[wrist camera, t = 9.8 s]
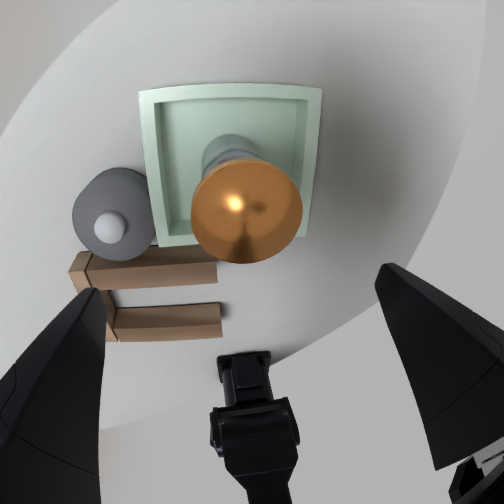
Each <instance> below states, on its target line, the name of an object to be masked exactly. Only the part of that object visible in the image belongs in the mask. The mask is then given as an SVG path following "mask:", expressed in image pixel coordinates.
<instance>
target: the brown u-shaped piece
mask: <svg viewBox="0 0 504 504" xmlns="http://www.w3.org/2000/svg"><path fill="white" fill-rule="evenodd" d="M68 273H69V275H70V278H71V280H72V282H73V284H74V286H75V288H76V290H77V292H78V294H79V293H80V292H81V291H82V290H83V289H84V288H87V287H96V288H98V289H99V291H100V293H101V296H102V298H103V300H104V302H105V305H106V307H107V323H106V340H105V342H118V339H119V341H120V342H146V341H175V340H193V339H207V338H220V337H223V335H222V325H221V315H220V305H219V303H214V304H201V305H187V306H171V307H152V308H129V309H118V310H117V311H116V309H115V307H114V304H113V302H112V300H111V297H110V295H109V293H108V290H115V289H134V288H151V287H167V286H182V285H196V284H209V283H218V280H217V267H216V257H214V256H212V255H211V254H209V253H208V252H207V251H205V250H204V249H203V248H202V247H201V245H200V244H195V245H183V246H170V247H159V246H151V247H148V248H147V249H146V250H145V251H144V252H143V253H142V254H140V255H139V256H137V257H135V258H132V259H129V260H124V261H114V260H108V259H105V258H102V257H100V256H97V255H96V254H93V253H92V252H83V253H78V254H77V256H76V258H75V260H74V261H73V263H72V265H71V267H70V269H69V271H68Z"/></svg>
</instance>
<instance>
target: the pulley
mask: <svg viewBox="0 0 504 504" xmlns="http://www.w3.org/2000/svg"><path fill="white" fill-rule="evenodd" d="M72 220H73V226H74V229H75V232H76V234H77V236H78V238H79V239H80V241H81V242H82V243H83V245H84V246H85V247H86V248H87V249H88V250H90V251H91V252H92V253H94V254H96V255H97V256H100V257H102V258H105V259H108V260H114V261H124V260H129V259H132V258H135V257H137V256H139V255H140V254H142V253H143V252H144V251H145V250H146V249H147V248H148V246H149V245H150V243H151V241H152V239H153V236H154V233H155V225H154V219H153V213H152V207H151V201H150V195H149V188H148V182H147V179H146V178H144V177H143V176H142V175H140V174H139V173H137V172H135V171H132V170H129V169H124V168H115V169H109V170H106V171H104V172H102V173H100V174H99V175H97V176H96V177H95V178H94V179H93V180H92V181H91V182H90V183H89V184H88V185H87V186H86V188H85V189H84V190H83V191H82V192H81V193H80V194H79V196H78V197H77V199H76V201H75V203H74V207H73V212H72Z"/></svg>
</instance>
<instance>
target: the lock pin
mask: <svg viewBox="0 0 504 504" xmlns="http://www.w3.org/2000/svg"><path fill="white" fill-rule="evenodd" d="M302 215H303V204H302V199H301V196H300V193H299V191H298V189H297V187H296V186H295V184H294V183H293V182H292V180H291V179H290V178H289V177H288V176H287V174H286V173H285V172H284V171H283V170H282V169H280V168H279V167H278V166H276V165H274V164H272V163H271V162H268V161H265V160H264V159H263V158H262V156H261V155H260V153H259V152H258V151H257V149H256V148H255V147H254V145H253V144H252V143H251V142H250V141H249V140H248V139H246V138H245V137H243V136H240V135H237V134H225V135H221V136H218V137H216V138H215V139H213V140H212V141H211V142H210V143H209V144H208V145H207V146H206V148H205V150H204V152H203V155H202V168H201V181H200V183H199V184H198V186H197V188H196V190H195V192H194V195H193V198H192V203H191V227H192V231H193V234H194V236H195V238H196V240H197V241H198V243H199V244H200V245H201V247H202V248H203V249H204V250H205V251H207V252H208V253H209V254H211V255H212V256H214V257H216V258H218V259H220V260H223V261H226V262H230V263H237V264H247V263H254V262H259V261H262V260H265V259H267V258H270V257H272V256H274V255H275V254H277V253H278V252H280V251H281V250H283V249H284V248H285V247H286V246H287V245H288V244H289V243H290V242H291V241H292V239H293V238H294V237H295V235H296V233H297V231H298V229H299V227H300V224H301V221H302Z"/></svg>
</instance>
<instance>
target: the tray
mask: <svg viewBox="0 0 504 504" xmlns="http://www.w3.org/2000/svg"><path fill="white" fill-rule="evenodd" d="M321 101H322V88H314V87H305V86H294V85H281V84H261V83H218V84H198V85H185V86H175V87H166V88H158V89H151V90H144V91H139V104H140V118H141V130H142V141H143V150H144V159H145V167H146V174H147V182H148V188H149V195H150V201H151V207H152V213H153V219H154V225H155V230H156V235H157V240H158V245H159V247H170V246H183V245H195V244H199V243H198V241H197V240H196V238H195V236H194V234H193V231H192V227H191V203H192V198H193V195H194V192H195V190H196V188H197V186H198V184H199V183H200V181H201V168H202V155H203V152H204V150H205V148H206V146H207V145H208V144H209V143H210V142H211V141H212V140H213V139H215V138H216V137H218V136H221V135H225V134H237V135H240V136H243V137H245V138H246V139H248V140H249V141H250V142H251V143H252V144H253V145H254V147H255V148H256V149H257V151H258V152H259V153H260V155H261V156H262V158H263V159H264V160H265V161H268V162H271V163H272V164H274V165H276V166H278V167H279V168H280V169H282V170H283V171H284V172H285V173H286V174H287V176H288V177H289V178H290V179H291V180H292V182H293V183H294V184H295V186H296V187H297V189H298V191H299V193H300V196H301V199H302V204H303V215H302V221H301V224H300V227H299V229H298V231H297V233H296V235H295V237H306V233H307V226H308V219H309V212H310V205H311V198H312V190H313V182H314V173H315V165H316V156H317V146H318V136H319V125H320V114H321Z"/></svg>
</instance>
